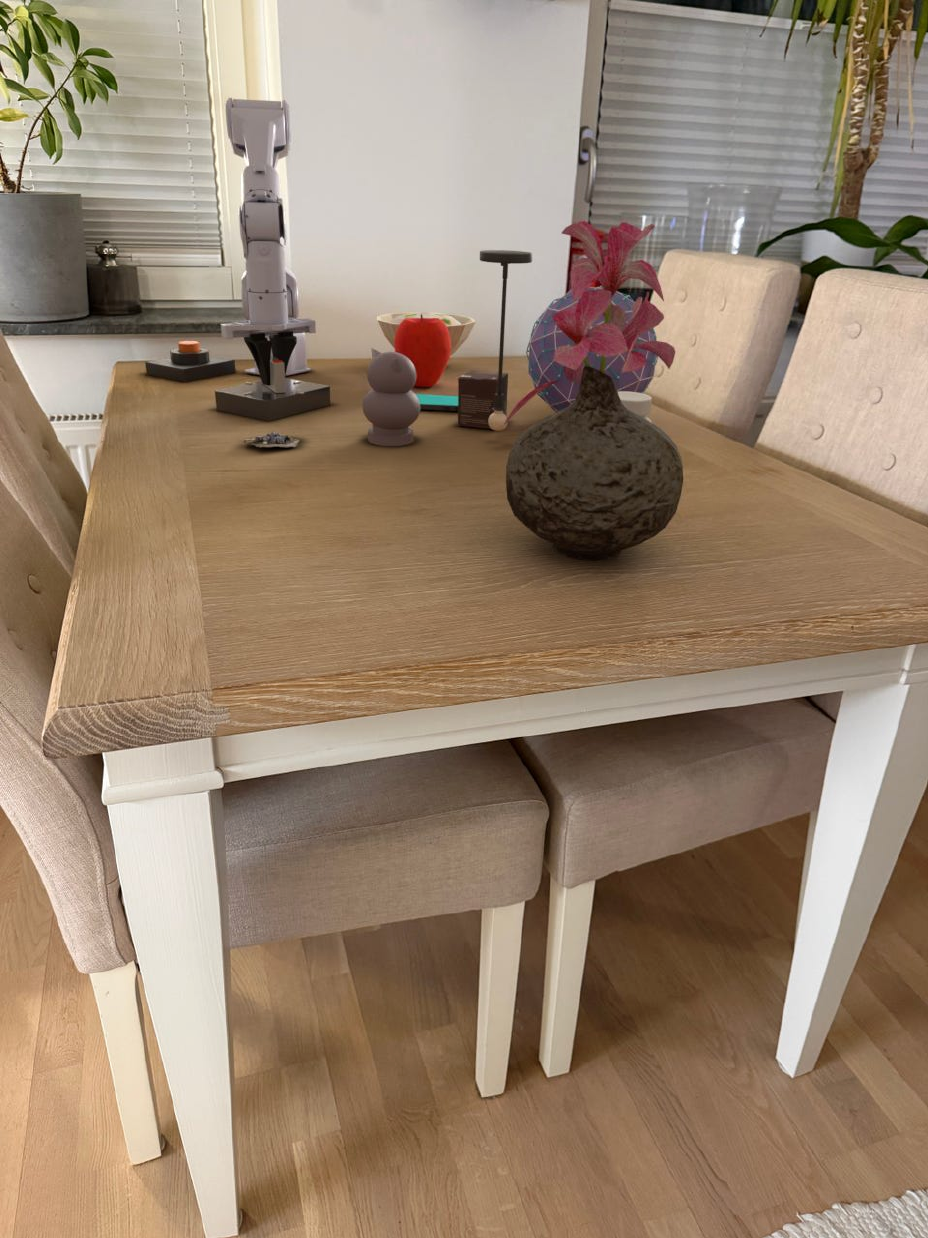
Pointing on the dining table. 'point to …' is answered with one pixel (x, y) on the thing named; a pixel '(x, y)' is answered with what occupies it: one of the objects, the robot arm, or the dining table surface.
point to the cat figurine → (391, 399)
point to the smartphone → (438, 402)
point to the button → (188, 346)
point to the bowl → (454, 323)
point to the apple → (424, 347)
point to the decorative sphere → (551, 338)
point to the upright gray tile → (277, 376)
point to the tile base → (272, 399)
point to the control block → (190, 366)
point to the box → (479, 397)
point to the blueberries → (272, 441)
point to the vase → (598, 421)
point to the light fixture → (502, 324)
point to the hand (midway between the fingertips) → (273, 383)
